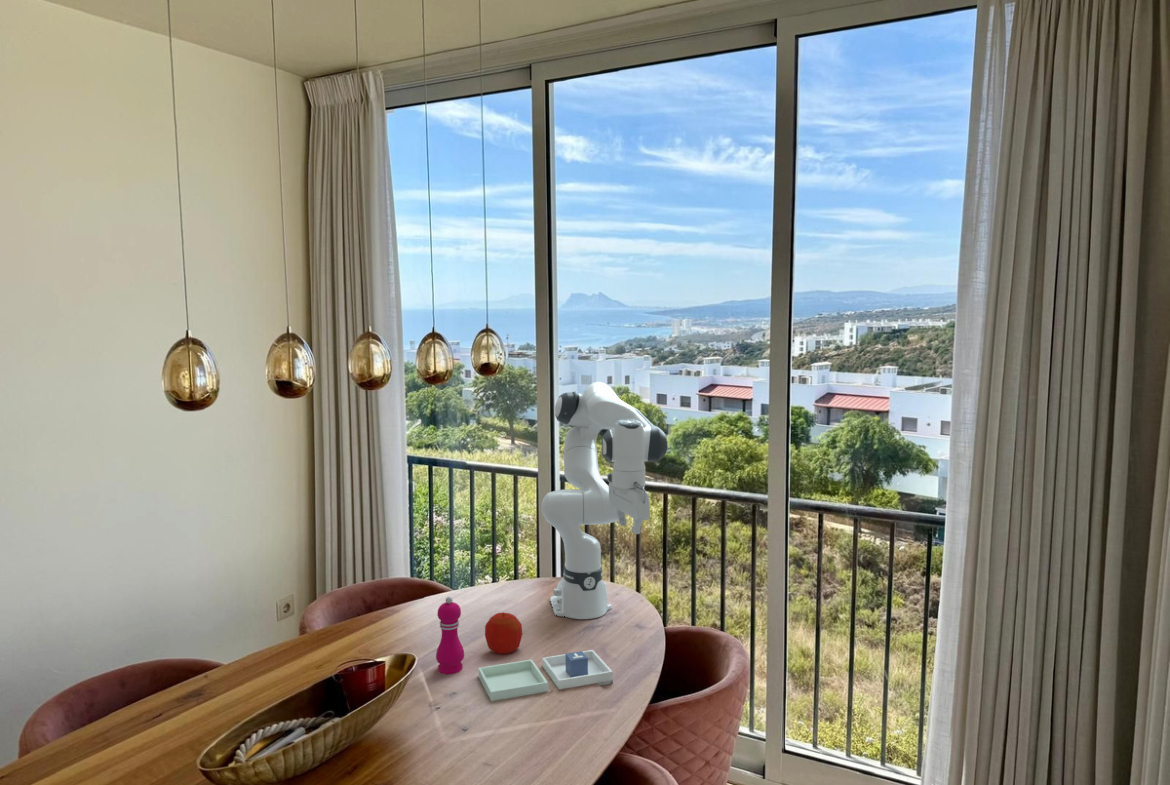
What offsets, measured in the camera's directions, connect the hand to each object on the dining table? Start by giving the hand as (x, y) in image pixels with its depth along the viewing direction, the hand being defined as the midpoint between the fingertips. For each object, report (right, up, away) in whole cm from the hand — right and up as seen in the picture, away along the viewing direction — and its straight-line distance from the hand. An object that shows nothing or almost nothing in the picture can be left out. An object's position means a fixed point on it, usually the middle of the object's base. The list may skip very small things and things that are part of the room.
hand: (629, 529), depth 213 cm
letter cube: (-14, -35, -13) cm, 40 cm away
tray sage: (-30, -36, -19) cm, 51 cm away
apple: (-35, -35, +2) cm, 49 cm away
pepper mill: (-47, -36, -10) cm, 60 cm away
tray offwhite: (-14, -35, -13) cm, 40 cm away
